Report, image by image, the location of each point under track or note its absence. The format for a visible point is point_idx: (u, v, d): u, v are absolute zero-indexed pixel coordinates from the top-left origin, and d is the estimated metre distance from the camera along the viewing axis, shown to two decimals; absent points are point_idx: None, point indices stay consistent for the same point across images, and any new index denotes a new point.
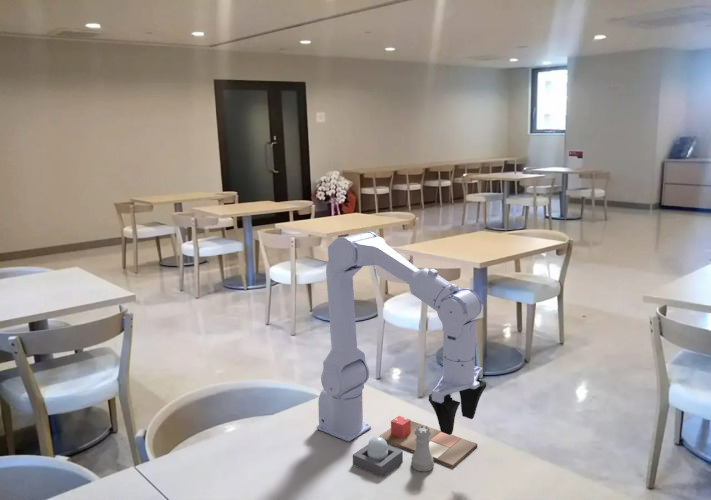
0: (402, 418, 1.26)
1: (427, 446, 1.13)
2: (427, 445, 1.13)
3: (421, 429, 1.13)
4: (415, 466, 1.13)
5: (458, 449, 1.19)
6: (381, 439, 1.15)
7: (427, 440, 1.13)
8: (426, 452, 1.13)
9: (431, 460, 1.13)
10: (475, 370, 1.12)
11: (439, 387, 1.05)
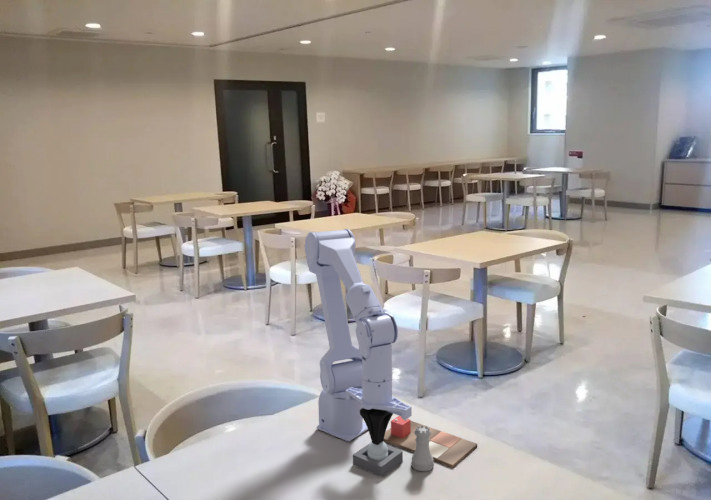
0: None
1: (427, 446, 1.13)
2: (427, 445, 1.13)
3: (421, 429, 1.13)
4: (415, 466, 1.13)
5: (458, 449, 1.19)
6: (381, 442, 1.15)
7: (427, 440, 1.13)
8: (426, 452, 1.13)
9: (431, 460, 1.13)
10: (401, 408, 1.09)
11: None
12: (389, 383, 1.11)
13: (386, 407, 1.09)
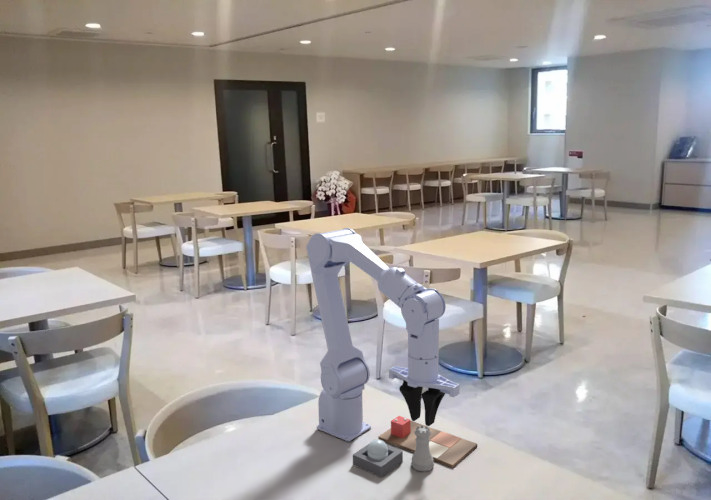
0: (402, 418, 1.26)
1: (426, 446, 1.13)
2: (427, 445, 1.13)
3: (421, 429, 1.13)
4: (415, 466, 1.13)
5: (458, 449, 1.19)
6: (381, 442, 1.15)
7: (427, 440, 1.13)
8: (426, 452, 1.13)
9: (431, 460, 1.13)
10: (449, 385, 1.07)
11: None
12: (436, 360, 1.08)
13: (433, 385, 1.07)
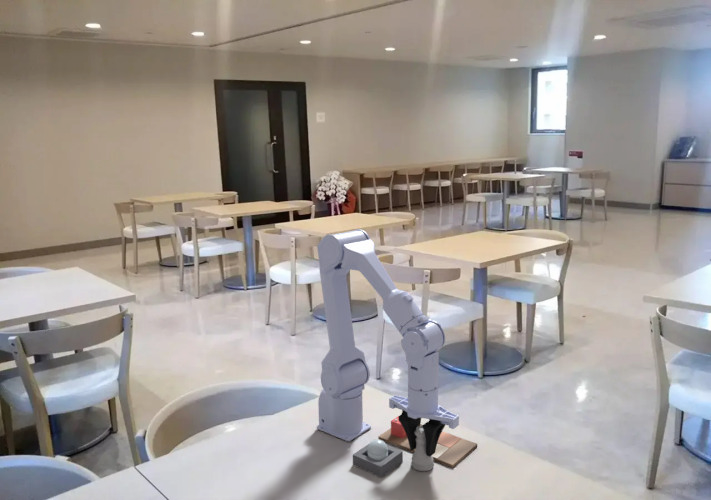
0: None
1: None
2: None
3: (421, 429, 1.13)
4: (415, 466, 1.13)
5: (458, 449, 1.19)
6: (381, 442, 1.15)
7: None
8: None
9: (431, 460, 1.13)
10: (449, 417, 1.08)
11: None
12: (436, 392, 1.10)
13: (433, 416, 1.09)
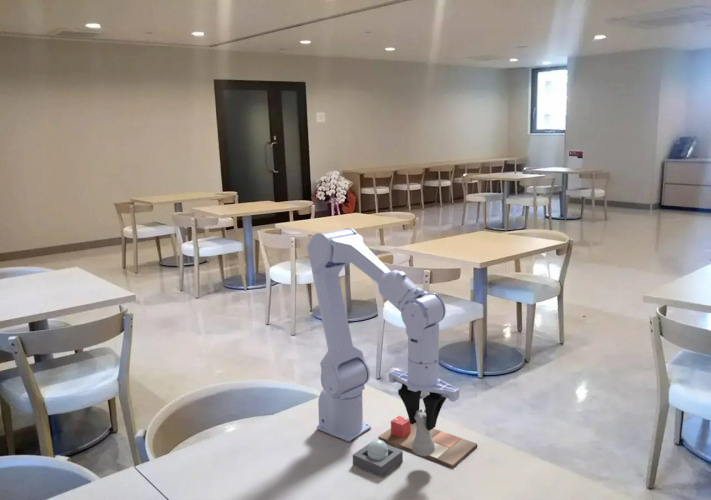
0: (402, 418, 1.26)
1: (427, 430, 1.12)
2: None
3: (421, 413, 1.12)
4: (417, 451, 1.12)
5: (458, 449, 1.19)
6: (381, 442, 1.15)
7: None
8: (427, 436, 1.12)
9: (432, 444, 1.13)
10: (449, 389, 1.07)
11: None
12: (436, 364, 1.09)
13: (433, 389, 1.07)
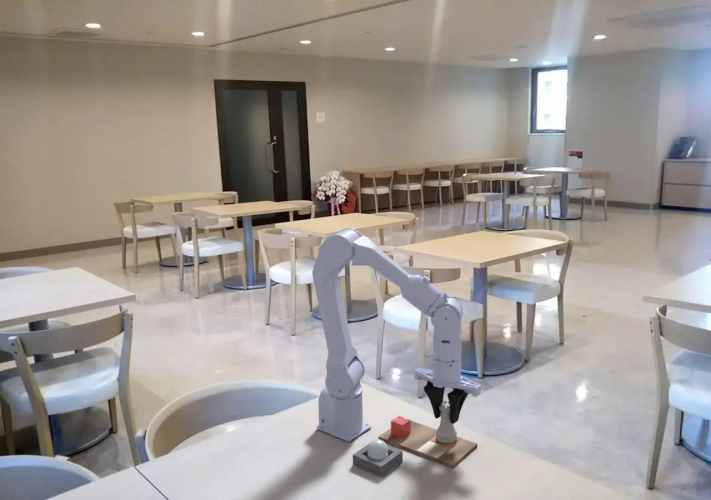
0: (402, 418, 1.26)
1: None
2: None
3: (445, 404, 1.22)
4: (440, 439, 1.22)
5: (458, 449, 1.19)
6: (381, 442, 1.15)
7: None
8: (450, 425, 1.21)
9: (455, 433, 1.22)
10: (471, 386, 1.17)
11: None
12: (459, 363, 1.18)
13: (457, 385, 1.17)
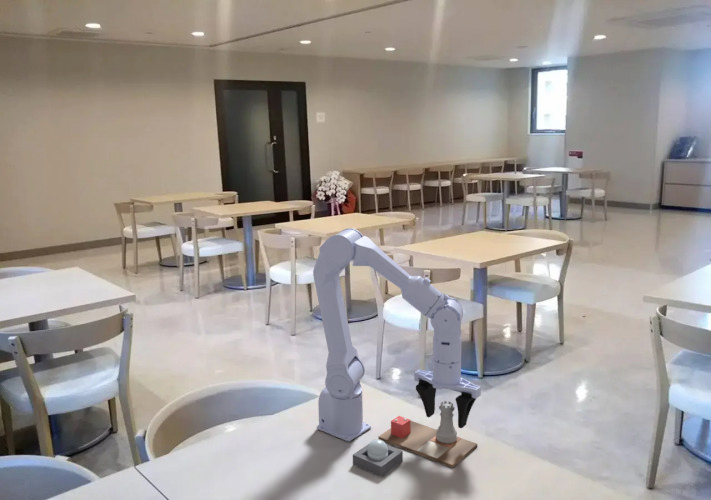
0: (402, 418, 1.26)
1: (451, 420, 1.21)
2: (451, 419, 1.21)
3: (445, 404, 1.22)
4: (440, 439, 1.22)
5: (458, 449, 1.19)
6: (381, 442, 1.15)
7: (451, 414, 1.21)
8: (450, 426, 1.21)
9: (455, 433, 1.22)
10: (471, 387, 1.17)
11: (428, 373, 1.24)
12: (459, 364, 1.18)
13: (457, 387, 1.17)
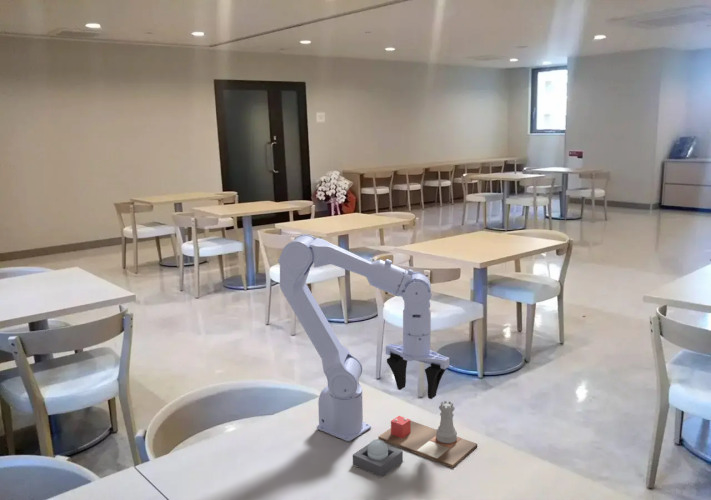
0: (402, 418, 1.26)
1: (451, 420, 1.21)
2: (451, 419, 1.21)
3: (445, 404, 1.22)
4: (440, 439, 1.22)
5: (458, 449, 1.19)
6: (381, 442, 1.15)
7: (451, 414, 1.21)
8: (450, 426, 1.21)
9: (455, 433, 1.22)
10: (440, 359, 1.20)
11: None
12: (428, 337, 1.21)
13: (426, 358, 1.20)
